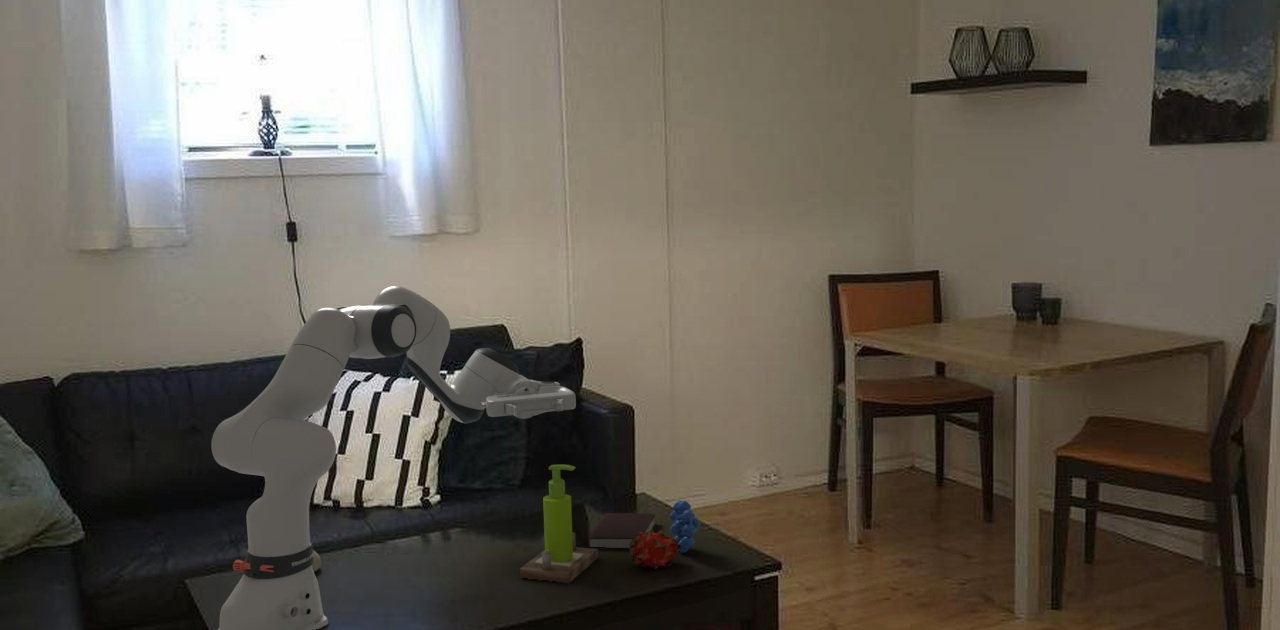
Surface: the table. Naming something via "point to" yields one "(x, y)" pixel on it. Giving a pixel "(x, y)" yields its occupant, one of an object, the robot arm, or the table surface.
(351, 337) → the robot arm
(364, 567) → the table surface
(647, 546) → the dragon fruit
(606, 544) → the book
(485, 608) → the table surface
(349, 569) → the table surface
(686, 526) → the grapes
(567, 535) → the soap dispenser
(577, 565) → the pin seat
